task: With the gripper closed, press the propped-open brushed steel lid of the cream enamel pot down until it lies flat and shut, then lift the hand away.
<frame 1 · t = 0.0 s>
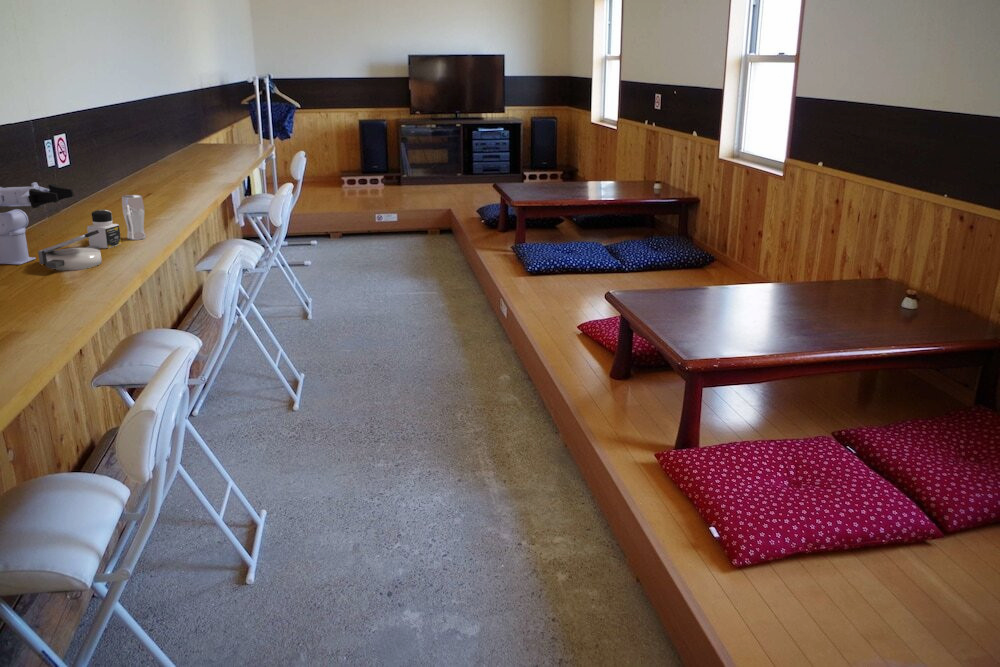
hand: (65, 195, 237), 22 cm above the table, tool horizontal, fingers open, 7 cm apart
beer glass: (136, 238, 281), on the table
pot: (75, 264, 245), on the table
lid: (71, 241, 243), point 7 cm above the table, hinge at 22.1°, touching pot
medicine bottle: (105, 246, 269), on the table
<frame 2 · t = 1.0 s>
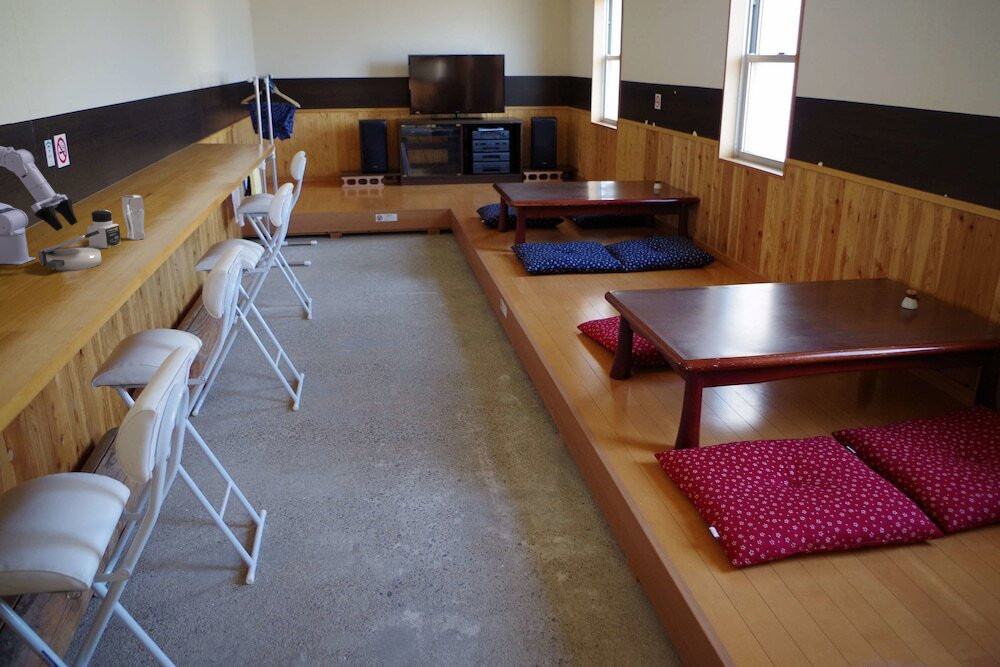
hand: (67, 226, 241), 12 cm above the table, tool tilted 30°, fingers open, 7 cm apart
lid: (71, 241, 243), point 7 cm above the table, hinge at 21.6°, touching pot
everything else where it was.
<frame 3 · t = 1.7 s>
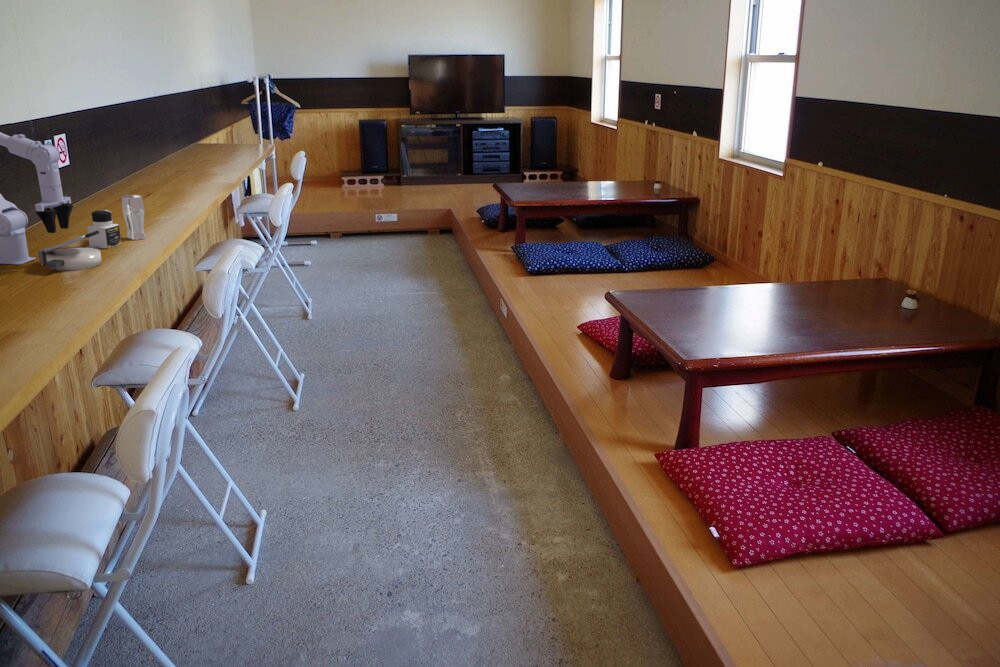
hand: (58, 230, 242), 10 cm above the table, tool pointing down, fingers open, 6 cm apart
nothing on the table moved.
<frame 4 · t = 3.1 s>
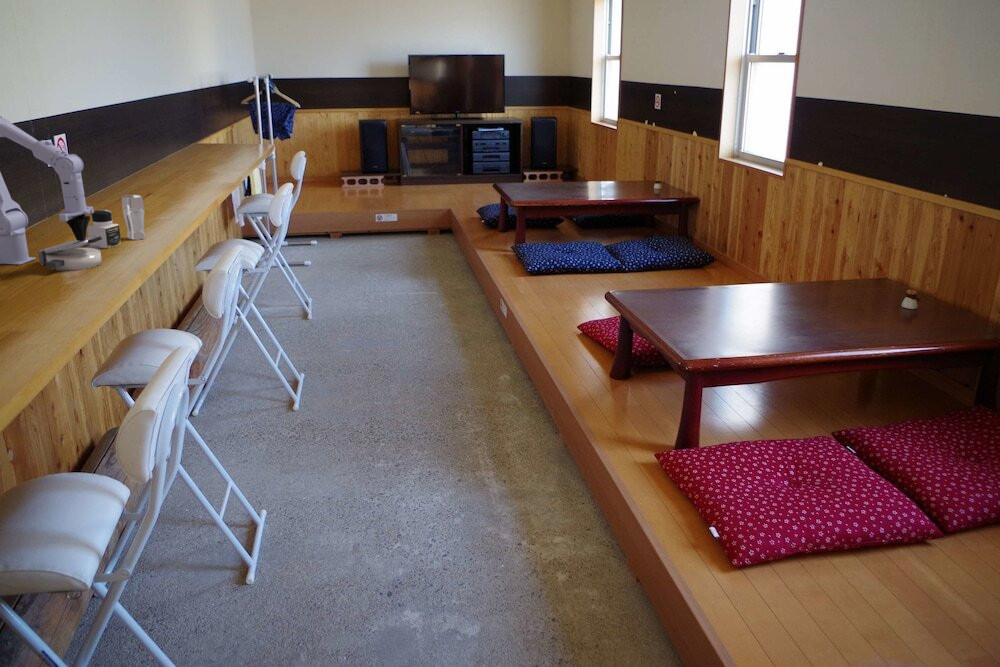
hand: (81, 240, 242), 8 cm above the table, tool pointing down, fingers closed, pressing on lid
lid: (72, 244, 243), point 6 cm above the table, hinge at 14.7°, touching gripper
everything else where it was.
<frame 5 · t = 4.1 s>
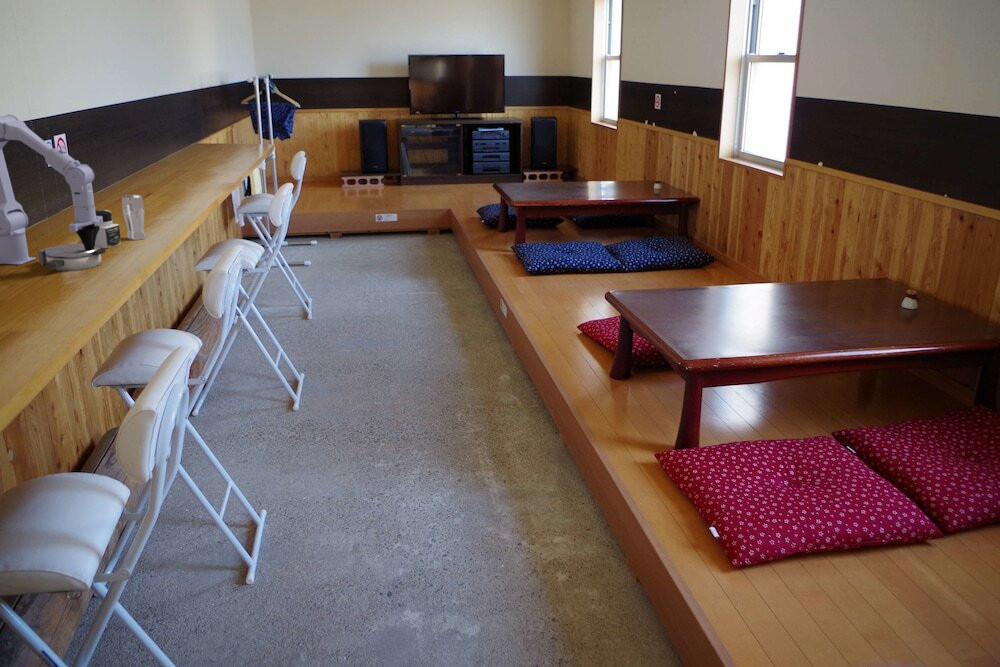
hand: (89, 249, 243), 5 cm above the table, tool pointing down, fingers closed, pressing on lid
lid: (75, 250, 244), point 4 cm above the table, hinge at 0.9°, touching gripper
everything else where it was.
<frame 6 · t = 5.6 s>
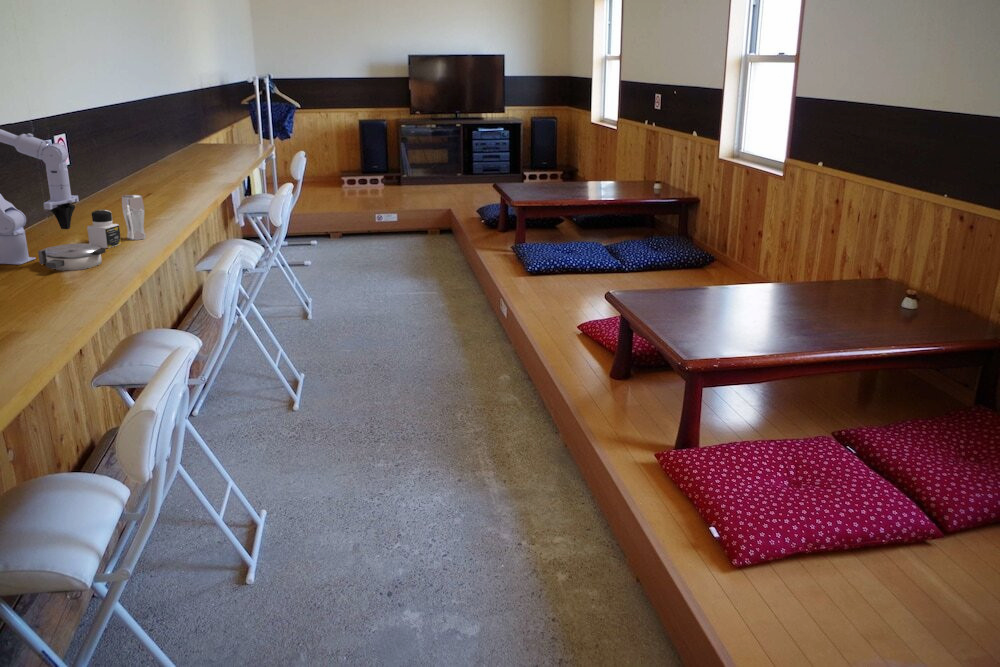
hand: (65, 228, 245), 10 cm above the table, tool pointing down, fingers closed
lid: (75, 250, 244), point 4 cm above the table, hinge at 0.8°
everything else where it was.
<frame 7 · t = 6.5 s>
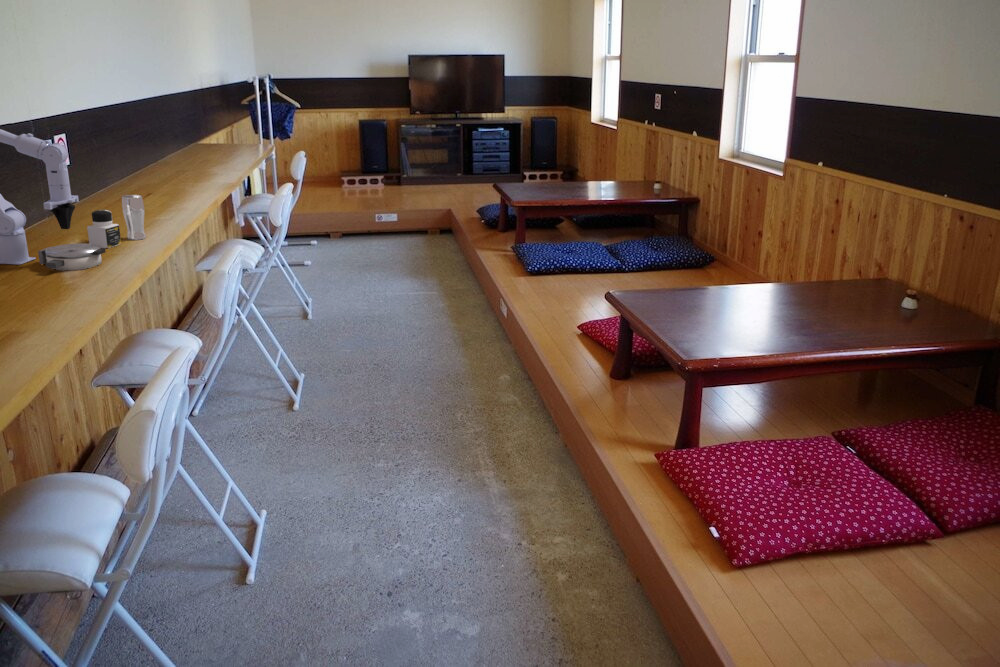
hand: (65, 228, 245), 10 cm above the table, tool pointing down, fingers closed
nothing on the table moved.
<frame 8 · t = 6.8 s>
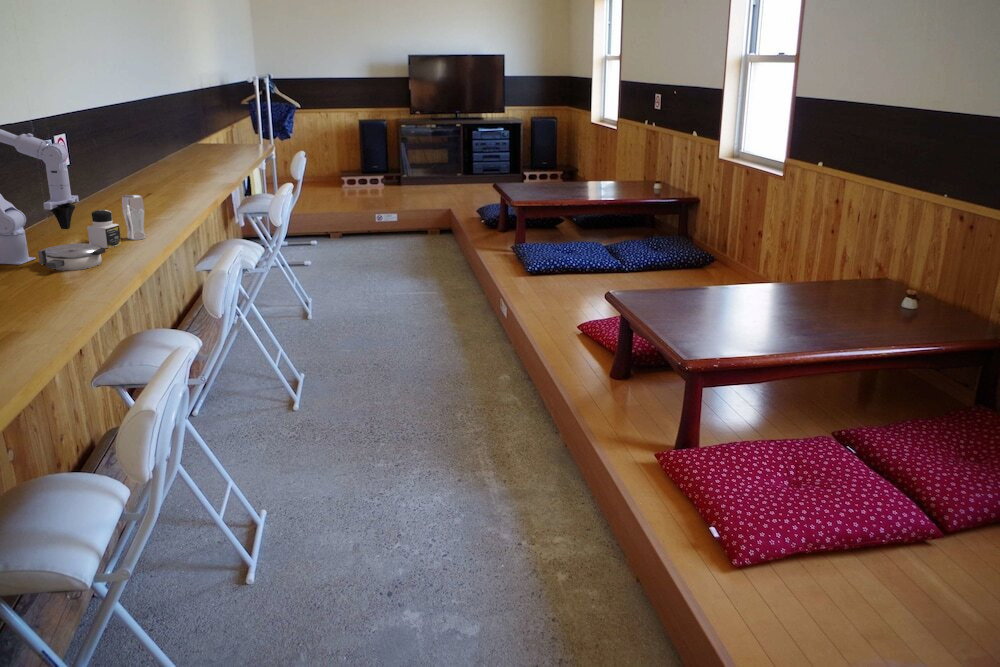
hand: (65, 228, 245), 10 cm above the table, tool pointing down, fingers closed
nothing on the table moved.
at the end: lid at +1° (first picture: +22°); medicine bottle tilted 0° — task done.
